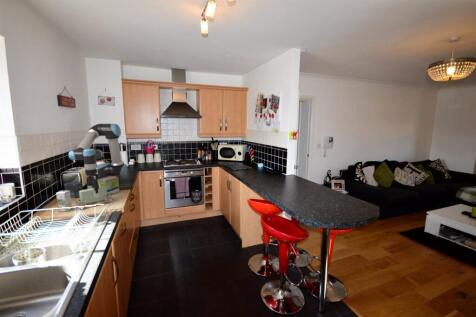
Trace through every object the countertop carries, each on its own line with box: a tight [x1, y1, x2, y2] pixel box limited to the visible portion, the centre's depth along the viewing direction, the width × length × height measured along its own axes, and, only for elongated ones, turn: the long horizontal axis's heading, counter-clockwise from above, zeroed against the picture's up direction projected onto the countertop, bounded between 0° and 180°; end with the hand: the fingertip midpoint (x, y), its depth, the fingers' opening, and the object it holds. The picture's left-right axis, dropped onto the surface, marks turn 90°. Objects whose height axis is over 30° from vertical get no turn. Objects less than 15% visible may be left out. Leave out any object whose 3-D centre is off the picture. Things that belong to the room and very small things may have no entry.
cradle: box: [74, 193, 113, 211], centre depth 168 cm, size 22×12×6 cm, turn 142°
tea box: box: [97, 176, 120, 196], centre depth 194 cm, size 15×10×15 cm, turn 168°
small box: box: [63, 181, 84, 199], centre depth 186 cm, size 13×7×12 cm, turn 72°
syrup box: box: [55, 190, 73, 213], centre depth 155 cm, size 6×6×14 cm
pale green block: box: [79, 186, 107, 204], centre depth 168 cm, size 17×5×10 cm, turn 141°
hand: (93, 195), depth 168 cm, fingers open, 13 cm apart
